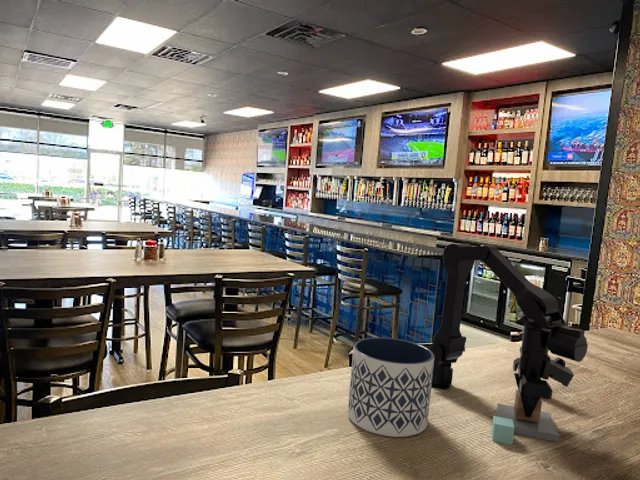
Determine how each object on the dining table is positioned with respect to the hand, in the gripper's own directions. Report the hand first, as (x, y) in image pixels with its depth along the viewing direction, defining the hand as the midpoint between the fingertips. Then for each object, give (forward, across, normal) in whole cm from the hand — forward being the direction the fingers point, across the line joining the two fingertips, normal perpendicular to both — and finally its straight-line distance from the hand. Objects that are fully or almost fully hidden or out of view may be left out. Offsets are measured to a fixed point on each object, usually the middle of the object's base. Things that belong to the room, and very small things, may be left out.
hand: (526, 412), depth 113 cm
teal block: (+3, -10, +6) cm, 12 cm away
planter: (+3, -12, +31) cm, 33 cm away
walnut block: (+1, 0, 0) cm, 1 cm away
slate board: (+3, 0, 0) cm, 3 cm away
